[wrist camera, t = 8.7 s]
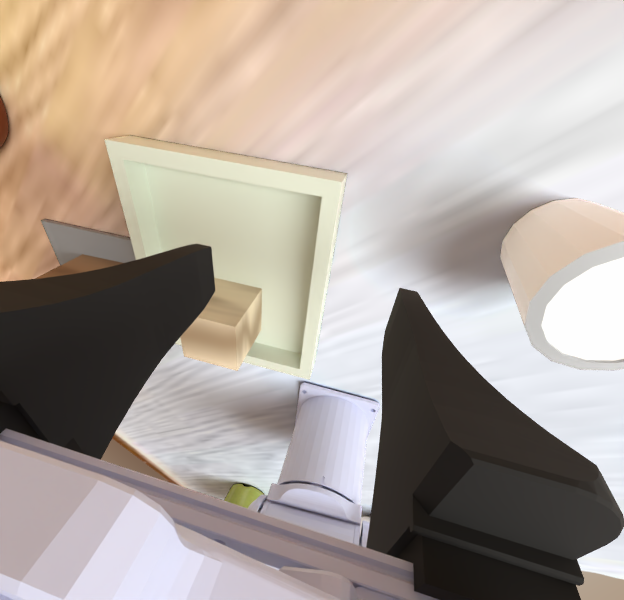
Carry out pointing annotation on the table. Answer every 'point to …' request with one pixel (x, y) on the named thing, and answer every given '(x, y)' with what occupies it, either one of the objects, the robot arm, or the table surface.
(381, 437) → the robot arm
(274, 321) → the parts tray
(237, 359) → the maple block
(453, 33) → the table surface
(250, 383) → the table surface
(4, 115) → the poop emoji
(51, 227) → the felt mat
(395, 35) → the table surface
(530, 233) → the shot glass
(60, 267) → the walnut block
